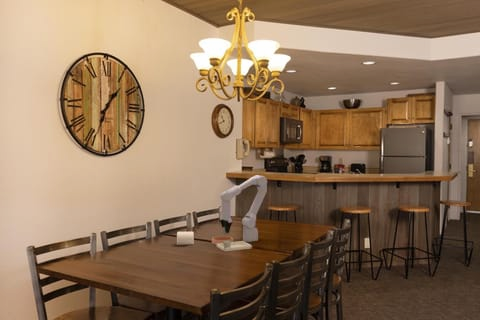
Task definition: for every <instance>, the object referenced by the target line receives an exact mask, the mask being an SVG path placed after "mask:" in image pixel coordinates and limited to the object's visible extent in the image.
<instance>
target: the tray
mask: <svg viewBox="0 0 480 320" xmlns="http://www.w3.org/2000/svg"><path fill="white" fill-rule="evenodd" d="M215 247H216V248H218V249H220V250H221V251H223V252H232V251H239V250H240V251H241V250H243V251H244V250H249V249H253V245H252V244H250V243H248V242H246V241H243V240H240V241H233V242H231V247H230V248H224V247H223V243H218V244H216V245H215Z"/></svg>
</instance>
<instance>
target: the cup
mask: <svg viewBox="0 0 480 320" xmlns="http://www.w3.org/2000/svg"><path fill="white" fill-rule="evenodd" d="M194 237H195V235H194V231H177V233H176V245H177V246H187V245H188V246H189V245H194V243H195V242H194V241H195V239H194Z"/></svg>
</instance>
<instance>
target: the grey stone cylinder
mask: <svg viewBox="0 0 480 320" xmlns="http://www.w3.org/2000/svg"><path fill="white" fill-rule="evenodd" d="M222 234H223V235H228V234H230V232H229V233H226V232H225V226H224V227H223V230H222Z"/></svg>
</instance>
